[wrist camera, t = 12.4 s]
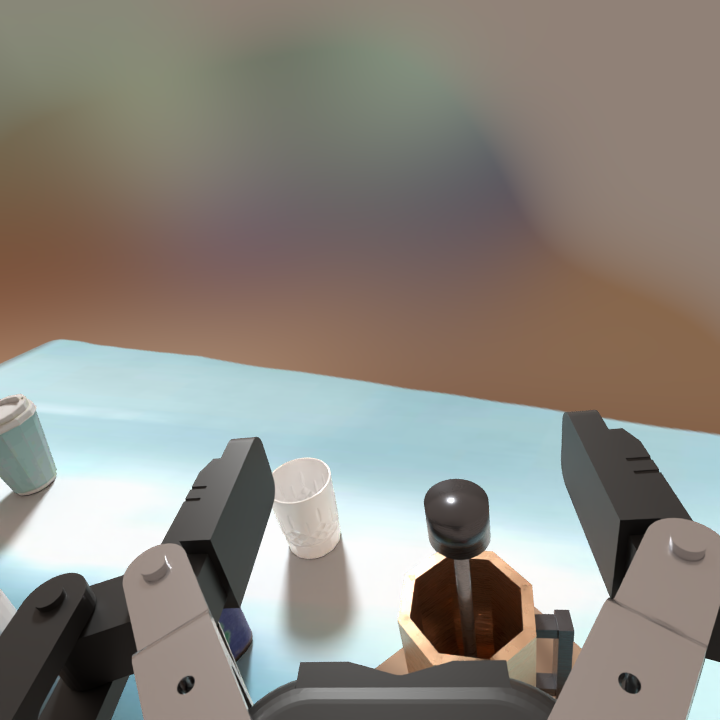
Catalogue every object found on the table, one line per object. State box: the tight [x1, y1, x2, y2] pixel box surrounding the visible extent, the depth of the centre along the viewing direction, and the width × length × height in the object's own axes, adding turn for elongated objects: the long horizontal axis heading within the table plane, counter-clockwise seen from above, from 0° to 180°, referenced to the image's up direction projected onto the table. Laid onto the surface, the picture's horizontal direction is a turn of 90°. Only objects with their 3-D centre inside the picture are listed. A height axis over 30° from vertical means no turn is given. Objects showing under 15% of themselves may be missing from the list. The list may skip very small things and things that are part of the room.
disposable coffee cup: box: [0, 394, 57, 495], centre depth 81 cm, size 11×11×15 cm
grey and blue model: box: [219, 607, 252, 662], centre depth 48 cm, size 9×3×11 cm, turn 132°
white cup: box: [272, 458, 341, 559], centre depth 61 cm, size 8×8×10 cm
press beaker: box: [398, 551, 574, 700], centre depth 39 cm, size 11×10×14 cm
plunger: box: [424, 479, 490, 659], centre depth 36 cm, size 6×6×23 cm
